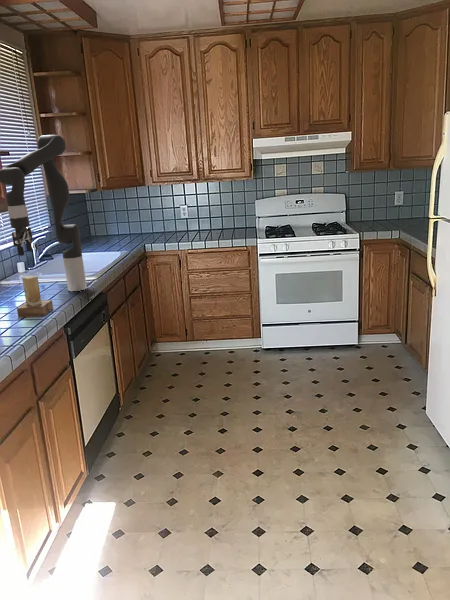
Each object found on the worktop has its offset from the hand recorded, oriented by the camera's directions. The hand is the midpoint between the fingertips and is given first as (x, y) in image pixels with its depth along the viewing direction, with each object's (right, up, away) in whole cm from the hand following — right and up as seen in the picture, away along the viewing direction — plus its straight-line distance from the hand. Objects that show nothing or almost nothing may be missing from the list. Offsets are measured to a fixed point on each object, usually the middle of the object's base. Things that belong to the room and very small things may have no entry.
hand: (25, 253), depth 221 cm
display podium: (+5, -26, 0) cm, 26 cm away
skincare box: (+4, -22, -2) cm, 23 cm away
